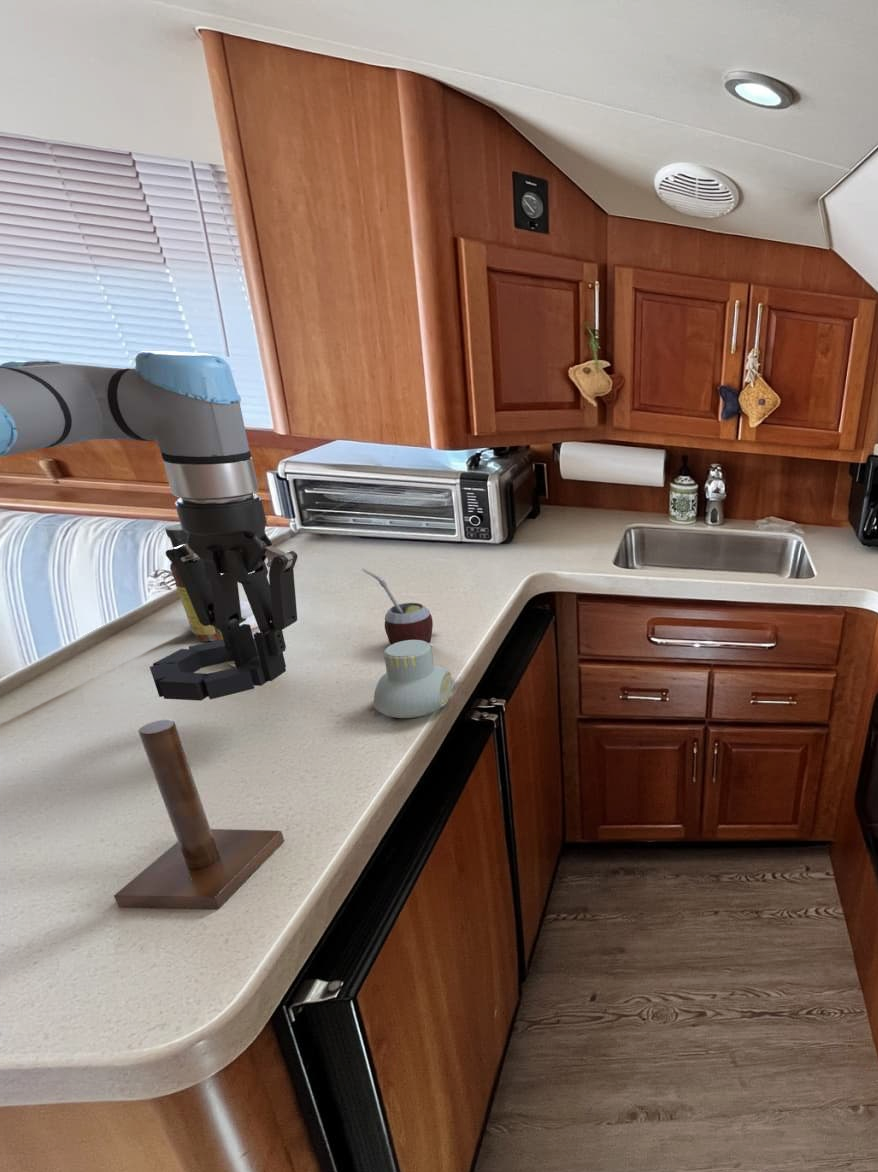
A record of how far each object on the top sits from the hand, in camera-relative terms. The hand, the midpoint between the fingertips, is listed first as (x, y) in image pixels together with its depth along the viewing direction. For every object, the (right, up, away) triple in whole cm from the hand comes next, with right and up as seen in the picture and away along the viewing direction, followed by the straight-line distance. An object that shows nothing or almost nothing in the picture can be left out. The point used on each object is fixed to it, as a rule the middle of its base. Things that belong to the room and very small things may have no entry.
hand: (263, 674), depth 81 cm
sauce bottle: (-32, +3, +28) cm, 43 cm away
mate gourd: (+1, +1, +29) cm, 29 cm away
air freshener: (+12, -7, +13) cm, 19 cm away
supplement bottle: (-20, 0, +22) cm, 30 cm away
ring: (-5, 0, 0) cm, 5 cm away
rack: (+9, -18, -17) cm, 26 cm away
